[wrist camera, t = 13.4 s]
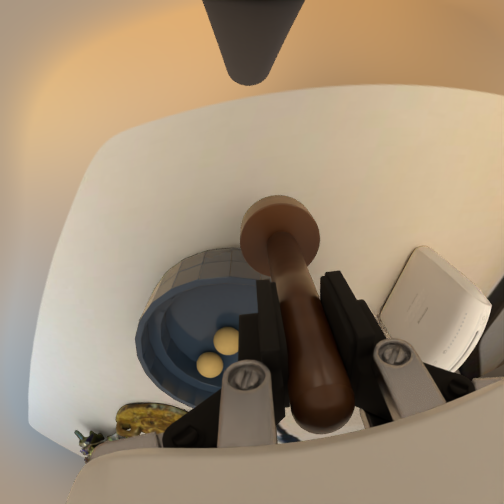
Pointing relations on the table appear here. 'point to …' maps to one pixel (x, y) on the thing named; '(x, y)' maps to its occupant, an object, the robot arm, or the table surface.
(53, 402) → the table surface
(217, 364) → the dough ball
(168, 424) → the lumpy olive cookie
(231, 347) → the dough ball
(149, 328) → the bowl
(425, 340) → the photo printer
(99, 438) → the passion flower
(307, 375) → the wooden dough tamper
